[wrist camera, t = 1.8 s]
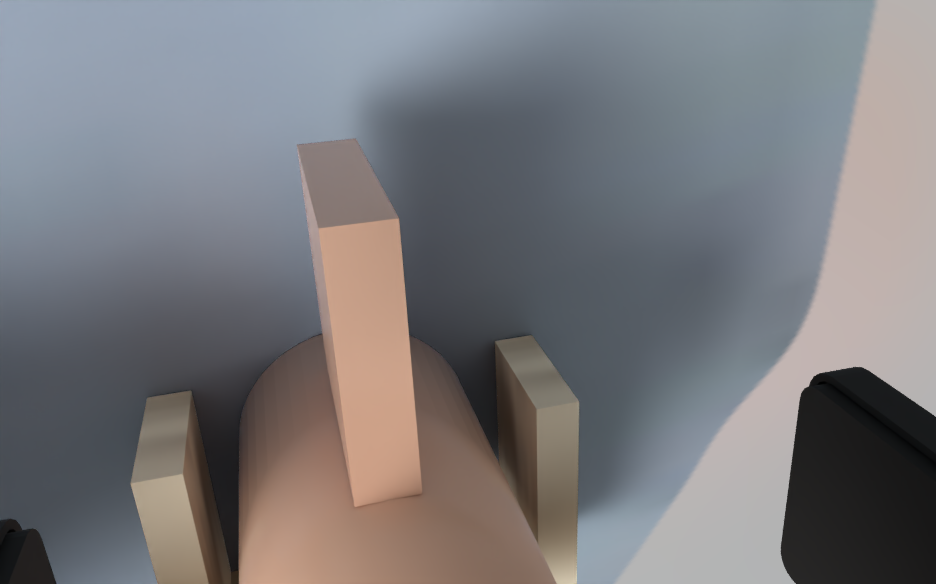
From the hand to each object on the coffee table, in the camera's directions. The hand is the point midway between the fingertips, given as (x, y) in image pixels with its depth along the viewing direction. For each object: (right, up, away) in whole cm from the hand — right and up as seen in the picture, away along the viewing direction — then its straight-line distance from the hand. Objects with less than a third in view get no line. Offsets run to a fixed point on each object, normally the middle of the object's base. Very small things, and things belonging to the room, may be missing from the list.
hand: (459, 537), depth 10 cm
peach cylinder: (-3, +1, +14) cm, 14 cm away
